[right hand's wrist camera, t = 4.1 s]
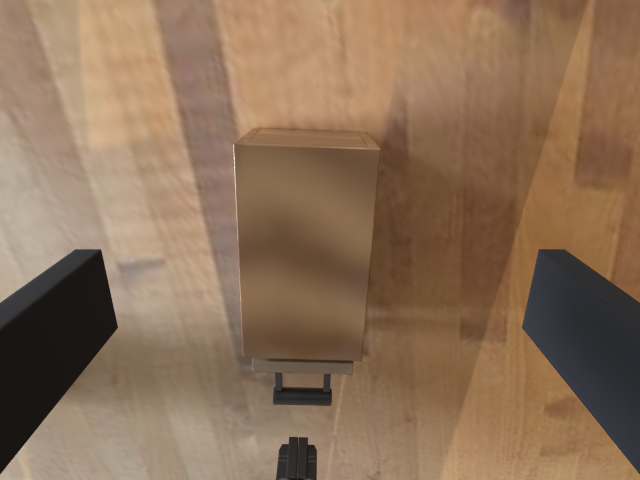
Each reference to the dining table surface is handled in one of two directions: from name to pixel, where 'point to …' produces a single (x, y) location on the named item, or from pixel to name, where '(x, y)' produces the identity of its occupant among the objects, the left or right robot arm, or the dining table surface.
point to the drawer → (302, 366)
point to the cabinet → (304, 241)
